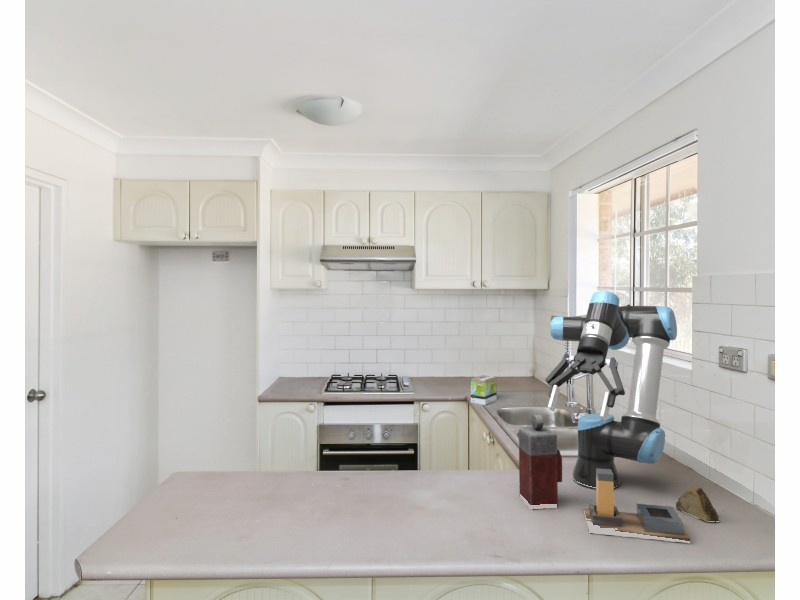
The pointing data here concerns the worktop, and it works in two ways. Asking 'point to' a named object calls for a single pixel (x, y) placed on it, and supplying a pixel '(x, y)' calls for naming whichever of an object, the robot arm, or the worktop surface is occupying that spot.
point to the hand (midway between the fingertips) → (576, 413)
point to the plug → (604, 492)
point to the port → (659, 519)
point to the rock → (697, 504)
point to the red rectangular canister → (539, 463)
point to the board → (625, 523)
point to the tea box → (483, 389)
